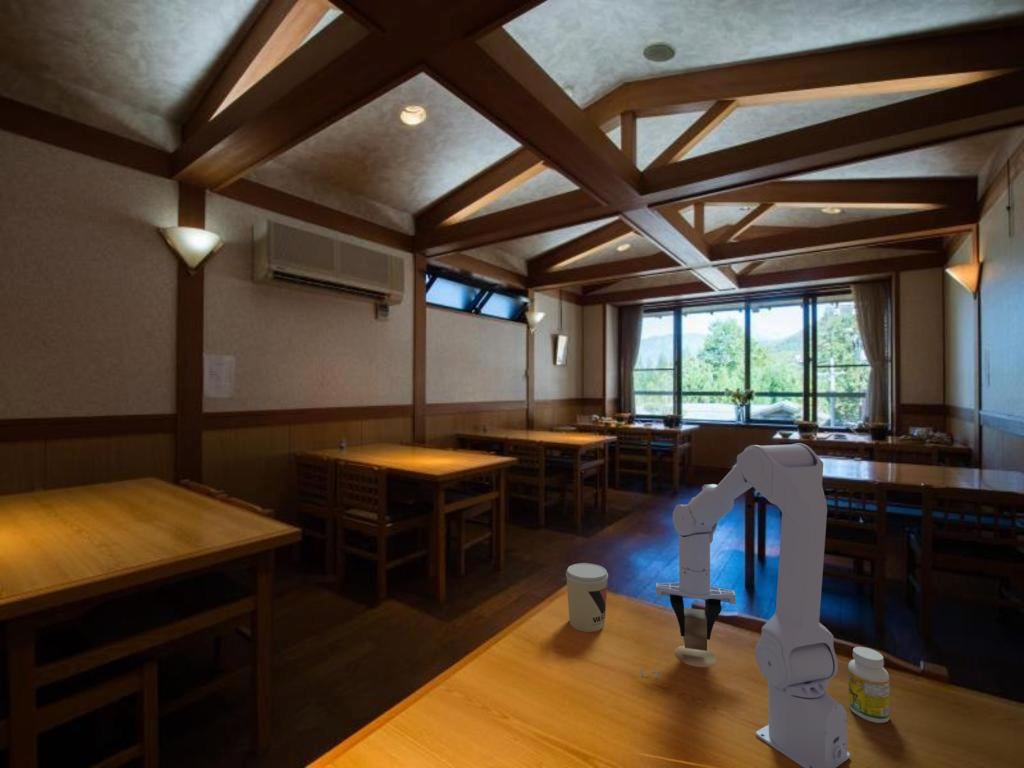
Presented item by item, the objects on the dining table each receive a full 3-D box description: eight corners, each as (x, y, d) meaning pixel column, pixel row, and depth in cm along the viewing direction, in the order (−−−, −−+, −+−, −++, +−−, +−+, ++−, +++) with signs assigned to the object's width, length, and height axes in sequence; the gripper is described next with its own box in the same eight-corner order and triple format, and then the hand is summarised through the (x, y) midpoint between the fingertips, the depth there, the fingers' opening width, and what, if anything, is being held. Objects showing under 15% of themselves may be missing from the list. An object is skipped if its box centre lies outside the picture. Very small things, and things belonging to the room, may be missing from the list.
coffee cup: (598, 639, 101) (598, 581, 101) (558, 627, 106) (558, 572, 106) (614, 620, 108) (614, 567, 109) (577, 610, 114) (576, 559, 114)
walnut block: (704, 640, 95) (704, 609, 95) (707, 650, 91) (706, 619, 92) (683, 637, 96) (683, 607, 96) (684, 647, 93) (684, 616, 93)
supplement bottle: (895, 727, 74) (894, 665, 74) (853, 719, 76) (853, 658, 76) (882, 706, 79) (882, 648, 79) (844, 698, 81) (844, 641, 81)
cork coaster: (724, 660, 92) (724, 659, 92) (698, 672, 89) (698, 671, 89) (692, 642, 99) (692, 641, 99) (666, 652, 95) (666, 651, 95)
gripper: (730, 562, 96) (731, 630, 96) (655, 555, 100) (655, 621, 100) (737, 575, 89) (738, 648, 89) (656, 568, 93) (656, 638, 93)
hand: (694, 635), depth 94 cm, fingers closed on walnut block, 4 cm apart
